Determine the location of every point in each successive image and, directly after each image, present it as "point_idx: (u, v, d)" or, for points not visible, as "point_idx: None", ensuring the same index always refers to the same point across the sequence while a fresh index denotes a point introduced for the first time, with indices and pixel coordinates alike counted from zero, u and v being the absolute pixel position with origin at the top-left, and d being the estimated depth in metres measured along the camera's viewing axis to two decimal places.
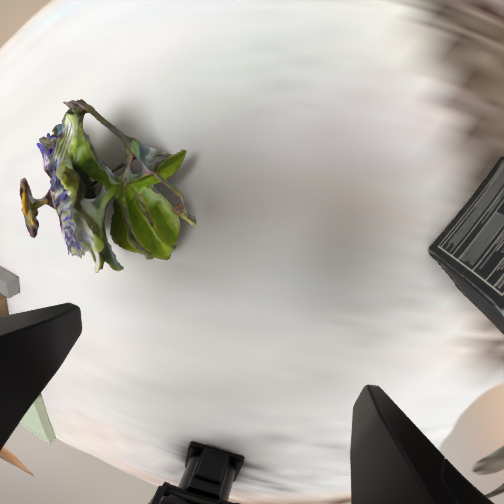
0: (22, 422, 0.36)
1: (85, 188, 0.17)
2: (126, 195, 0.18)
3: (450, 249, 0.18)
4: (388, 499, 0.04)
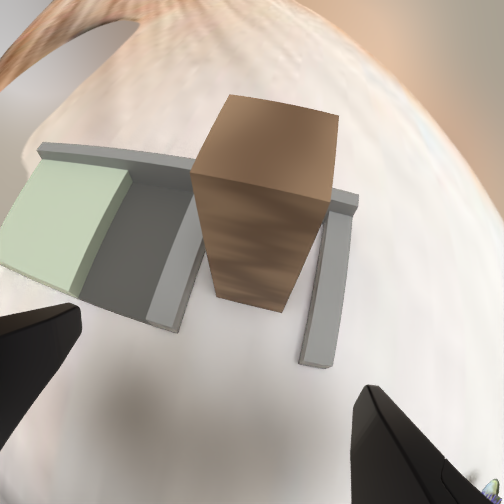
0: (23, 202, 0.24)
1: None
2: None
3: None
4: (388, 499, 0.04)
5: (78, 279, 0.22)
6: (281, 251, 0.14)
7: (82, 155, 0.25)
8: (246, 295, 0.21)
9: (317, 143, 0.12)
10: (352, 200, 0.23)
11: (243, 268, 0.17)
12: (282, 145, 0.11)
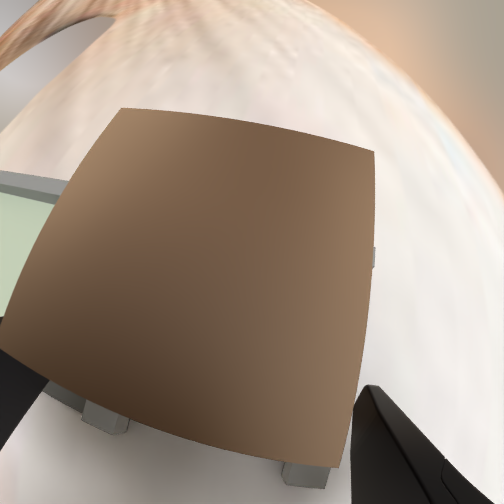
0: None
1: None
2: None
3: None
4: (388, 499, 0.04)
5: None
6: None
7: (14, 187, 0.18)
8: None
9: (321, 247, 0.04)
10: None
11: None
12: (213, 266, 0.04)
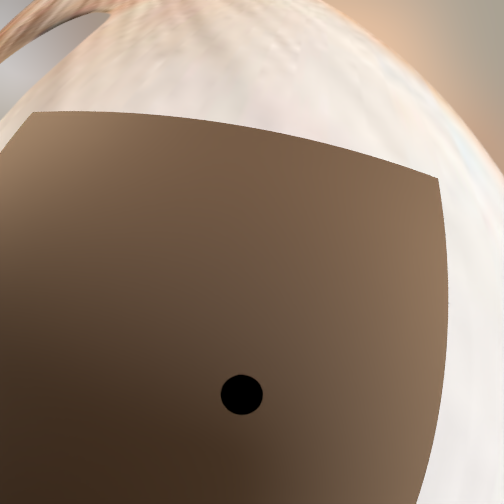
0: None
1: None
2: None
3: None
4: None
5: None
6: None
7: None
8: None
9: (346, 408, 0.02)
10: None
11: None
12: (125, 443, 0.02)
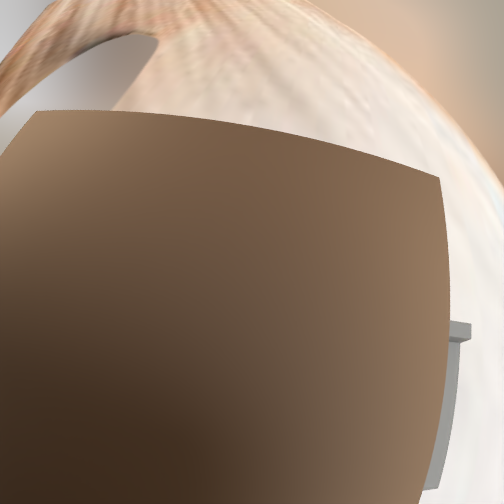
0: None
1: None
2: None
3: None
4: None
5: None
6: None
7: None
8: None
9: (351, 402, 0.02)
10: (466, 332, 0.19)
11: None
12: (132, 441, 0.02)
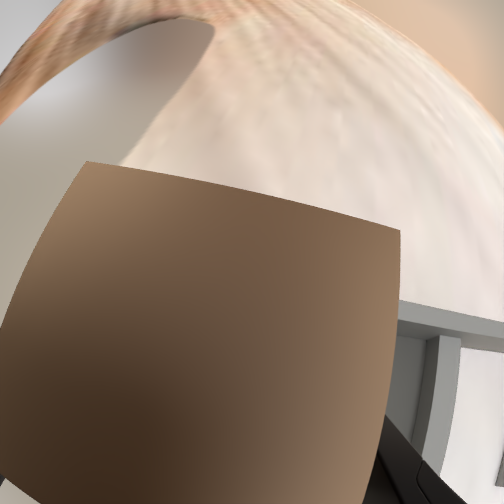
0: None
1: None
2: None
3: None
4: None
5: None
6: None
7: None
8: None
9: (328, 381, 0.03)
10: None
11: None
12: (197, 407, 0.03)
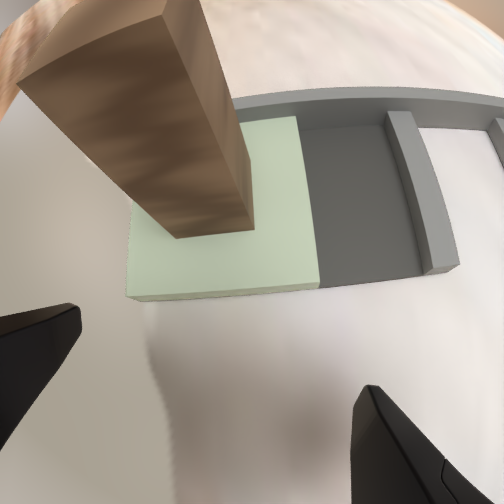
0: None
1: None
2: None
3: None
4: (388, 499, 0.04)
5: None
6: (175, 130, 0.10)
7: None
8: (199, 221, 0.17)
9: None
10: None
11: (162, 182, 0.13)
12: (110, 7, 0.06)
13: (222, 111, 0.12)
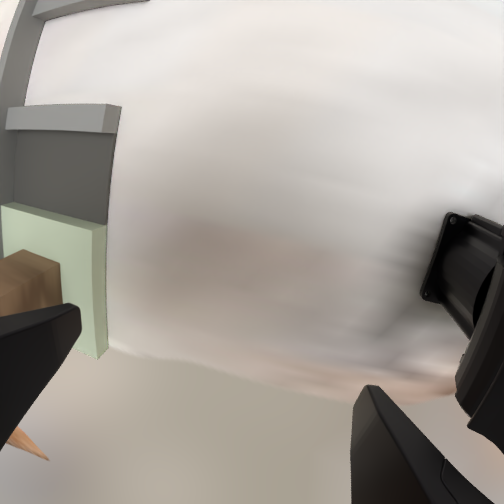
0: None
1: None
2: None
3: None
4: (388, 499, 0.04)
5: (84, 225, 0.21)
6: None
7: None
8: (46, 303, 0.20)
9: None
10: (23, 0, 0.13)
11: None
12: None
13: None
